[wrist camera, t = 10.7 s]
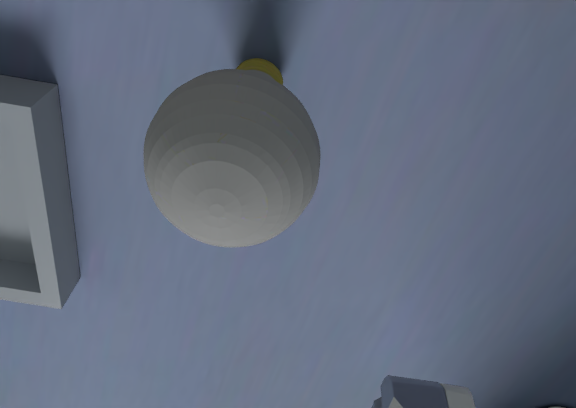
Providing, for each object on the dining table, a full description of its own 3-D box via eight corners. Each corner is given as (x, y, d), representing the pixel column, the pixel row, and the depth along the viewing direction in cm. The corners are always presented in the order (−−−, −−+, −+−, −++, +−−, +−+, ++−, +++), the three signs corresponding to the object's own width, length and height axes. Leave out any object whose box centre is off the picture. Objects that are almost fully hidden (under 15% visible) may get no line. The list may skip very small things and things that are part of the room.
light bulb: (334, 120, 23) (335, 271, 15) (220, 142, 24) (162, 294, 16) (308, -4, 20) (290, 98, 12) (179, 27, 21) (81, 141, 13)
